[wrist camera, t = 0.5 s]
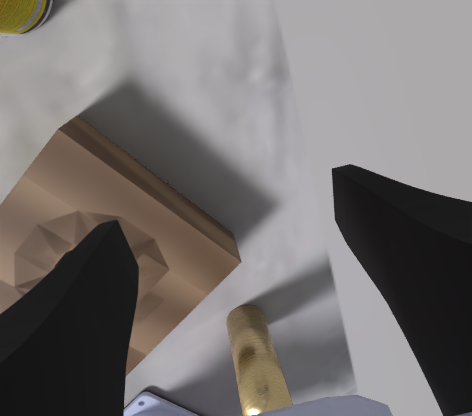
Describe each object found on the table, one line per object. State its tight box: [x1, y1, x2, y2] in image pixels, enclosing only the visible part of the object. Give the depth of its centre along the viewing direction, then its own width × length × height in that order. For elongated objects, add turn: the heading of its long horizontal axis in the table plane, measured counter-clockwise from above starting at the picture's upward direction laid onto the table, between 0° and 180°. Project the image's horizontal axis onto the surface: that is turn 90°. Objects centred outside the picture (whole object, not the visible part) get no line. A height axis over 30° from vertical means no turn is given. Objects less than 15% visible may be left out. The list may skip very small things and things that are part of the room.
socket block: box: [0, 116, 241, 376], centre depth 22 cm, size 12×12×4 cm
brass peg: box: [226, 305, 293, 416], centre depth 24 cm, size 3×3×8 cm
